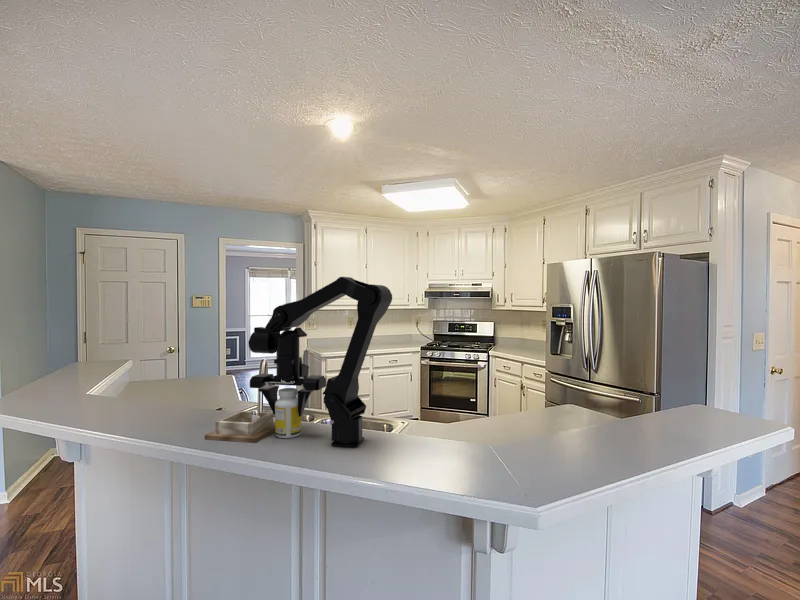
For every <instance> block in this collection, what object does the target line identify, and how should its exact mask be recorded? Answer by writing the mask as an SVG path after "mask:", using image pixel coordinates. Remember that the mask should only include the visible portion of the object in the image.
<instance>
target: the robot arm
mask: <svg viewBox="0 0 800 600" xmlns="http://www.w3.org/2000/svg"><path fill="white" fill-rule="evenodd" d="M344 296H347V297H349V298H351V299H352V300H355V301H357V305H356V311H357V321H356V324H355V326H354V328H353V332H352V335H351V338H350V342H349V343H348V347H347V350H346V353H345V355H344V357H343V358H344V359H343V361H342V364H341V367H340V370H339V373H338V374H337V375H335V376H333V377H329V378H328V379H326V376H325V375H318V374H317V375H314V374H313V375H309V370H310V366H309V365H308V364H306V363H303V359H302V357H301V356H300V338H304V337H307V336H308V334H307V333H306V332H305V331H304V330H303V329H302V327H300V326H301V325H302V324H303V323H305V322H306V321H307V320H308V319H309V318H310V316H312V314H314V313H315V312H317V311H319V310H320V309H323V308H324V307H326V306H328V305H331V304H332V303H334V302H336V301H337V300H340V299H342V298H343V297H344ZM392 301H393V294H392V292H391V290H390V289H389V287H387V286H385V285H382V284H369V283H366V282H364V281H359V280H356V279H355V278H353V277H349V276H339V277H337V279H336V280H334V281H332V282H331V283H329V284H327V285H325V286H323V287H321V288H320V289H317V290H316V291H314V292H313V293H310V294H308V295H307V296H305V297H303V298H301V299H299V300H296V301H291V302H287V303H283V304H280V305H277V306H276V307H275V308H273V311H272V315H271V318H270V319H269V320H268V322H267V324H266V325H265V327H263V326H257V327H253V332H252V334H251V335H250V337H249V340H248V344H247V345H248V348H249V351H251V352H252V353H256V354H269V355H270V354H275V353H276V357H275V358H276V359H275V358H274V359H273V364H274V365H276V375H274V374H273V373H258V374H255V375H253V376H251V378H250V379H249V388H250V389H258V392H261V393H262V395H263V397H264V398H265V400H266V402H267V404H268V405H269V407H270V409H271V412H273V416H275V402H276V401H277V400H278V399H279V398H278V391H279V389H280V386H296V387H297V386H300V387H301V389H300V390H297V398H298V412H299V416H301V417H303V415H304V412H305V409H306V406H307V403H308V400H309V398H310V395H312V393H313V392H314V391H320V390H321V389H323V388H325V389H324V391H323V392H322V395H324V396H323V404H324V406H325V408H326V409H327V412H328V414H329V419H330V421H331V422H332V423H331V441H332V442H331V443H330V445H331V446H333V447H345V448H359V446H360V445H361V444H362V443H363V441H365V437H364V436H363V415H364V414H365V412H366V409H367V405H366V404H365V402H364V401H363V400H362V399H361V398H360V397H359V390H360V385H359V375H360V373H361V370H362V366H363V364H364V361H365V359H366V355H367V352H368V351H369V347H370V344H371V341H372V339H373V336H374V333H375V330H376V327H377V325H378V323H379V322H380V320H381V319H382V318H383V317H384V315H385V314H386V312H387V311H388V309H389V307H390V305H391V303H392ZM293 328H294V329H293ZM292 329H293V330H292Z"/></svg>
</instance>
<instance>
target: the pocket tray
mask: <svg viewBox="0 0 800 600" xmlns="http://www.w3.org/2000/svg"><path fill="white" fill-rule="evenodd" d="M252 414H253V412H252V411H250V410H249V411H248V410H238V411H237V412H235V413H232V414H230V415H228V416H225V417H223V418H221V419H218V420H217V421H215V429H214V430H213V431H210V432H209V433H206V434H204V440H207V441H209V440H210V441H223V442H224V441H226V442H227V441H228V442H237V443H238V442H240V443H241V442H242V443H256V444H257V443H258V442H259V441H261V440H263V439H264V438H266V437H268V436H269V435H271V434H272V433H274V432H275V421H274V414H273V412H272V411H270V412H269V411H261V412H259V418H256V419H255V420H253V417H252Z"/></svg>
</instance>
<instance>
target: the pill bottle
mask: <svg viewBox="0 0 800 600" xmlns="http://www.w3.org/2000/svg"><path fill="white" fill-rule="evenodd" d="M277 396H278V397H279V398H278V400H277V401H276V402H275V415H274V422H275V431H274V432H275V436H276V437H277V438H281V439H292V438H296V437H298V436H299V435H301V433H302V416H299V412H298V388H295V387H285V388H279V389H278V392H277Z"/></svg>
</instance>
